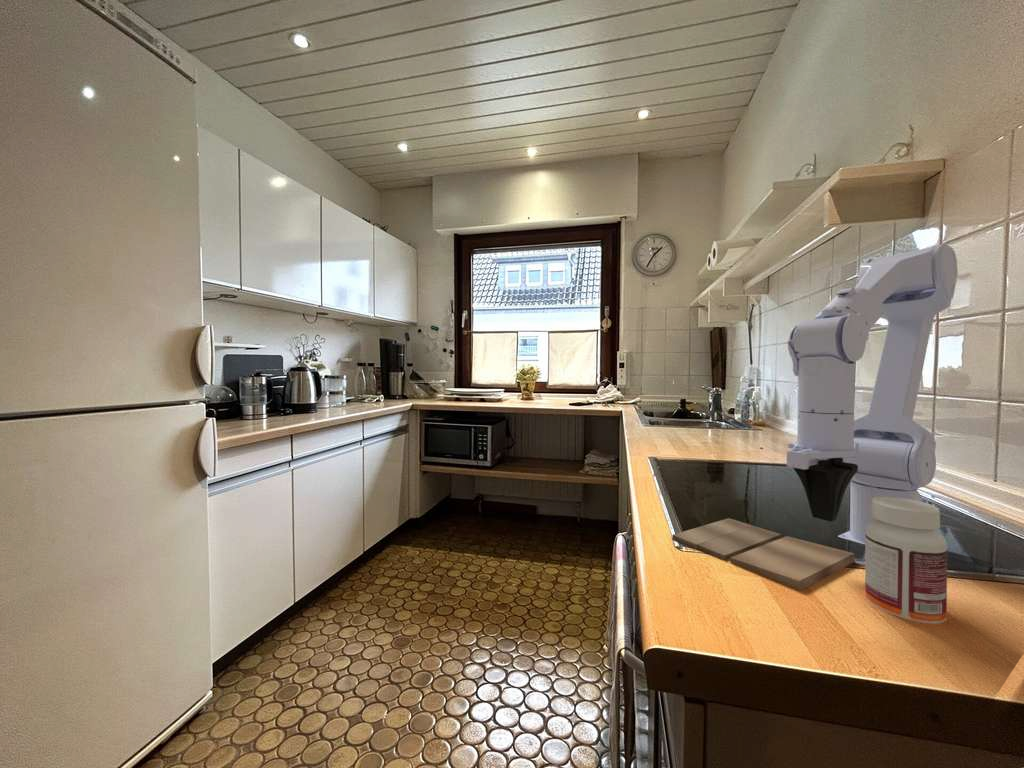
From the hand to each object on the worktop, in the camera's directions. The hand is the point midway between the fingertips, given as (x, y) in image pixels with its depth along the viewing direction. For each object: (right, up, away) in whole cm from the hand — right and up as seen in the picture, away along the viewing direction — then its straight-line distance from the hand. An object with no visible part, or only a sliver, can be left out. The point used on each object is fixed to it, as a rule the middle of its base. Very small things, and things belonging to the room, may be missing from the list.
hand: (823, 518), depth 52 cm
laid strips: (-8, -6, +8) cm, 13 cm away
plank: (-4, -6, +1) cm, 7 cm away
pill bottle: (+1, -7, -10) cm, 12 cm away
